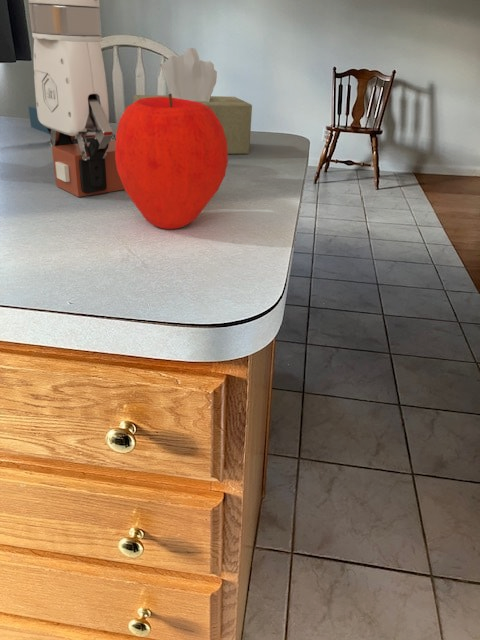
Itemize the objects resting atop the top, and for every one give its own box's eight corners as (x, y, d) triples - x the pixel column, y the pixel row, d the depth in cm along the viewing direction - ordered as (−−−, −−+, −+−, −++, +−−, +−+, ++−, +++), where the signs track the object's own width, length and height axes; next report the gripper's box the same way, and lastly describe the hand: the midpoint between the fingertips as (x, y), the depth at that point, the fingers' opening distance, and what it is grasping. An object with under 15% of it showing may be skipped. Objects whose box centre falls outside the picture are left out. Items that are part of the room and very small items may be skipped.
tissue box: (234, 142, 101) (239, 48, 94) (251, 154, 93) (257, 52, 86) (133, 143, 96) (129, 43, 88) (141, 155, 88) (137, 47, 80)
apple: (247, 228, 60) (255, 99, 54) (160, 251, 53) (157, 105, 46) (181, 201, 67) (181, 85, 61) (98, 218, 60) (87, 88, 54)
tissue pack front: (73, 197, 66) (69, 156, 64) (51, 186, 70) (46, 146, 67) (159, 183, 74) (158, 145, 71) (135, 173, 77) (133, 137, 75)
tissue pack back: (97, 145, 93) (95, 114, 90) (65, 149, 89) (61, 117, 87) (63, 132, 101) (60, 104, 98) (32, 135, 97) (28, 106, 95)
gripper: (2, 20, 64) (23, 174, 72) (72, 27, 53) (87, 207, 62) (62, 23, 68) (75, 167, 77) (137, 30, 57) (143, 197, 66)
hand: (80, 183), depth 69 cm, fingers closed on tissue pack front, 6 cm apart
